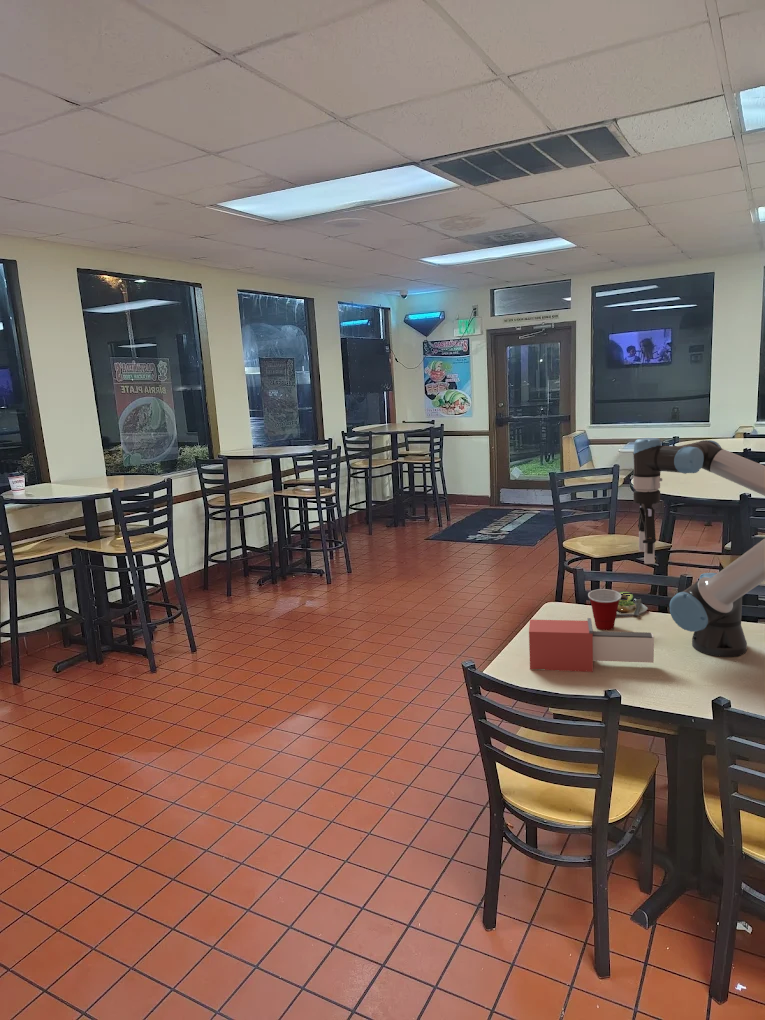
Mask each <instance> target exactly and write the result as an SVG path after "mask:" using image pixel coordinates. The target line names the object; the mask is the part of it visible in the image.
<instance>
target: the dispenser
mask: <svg viewBox="0 0 765 1020" xmlns="http://www.w3.org/2000/svg"><path fill="white" fill-rule="evenodd" d="M593 631H594V628H593V621H592V618H591V617H587V620H570V619H569V620H568V619H529V627H528V640H529V641H528V643H529V644H528V646H529V647H528V648H529V670H530V669H545V670H544V671H555V670H559V671H560V672H580V673H581V672H585V673H587V672H588V673H593V672H594V661H593Z"/></svg>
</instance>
